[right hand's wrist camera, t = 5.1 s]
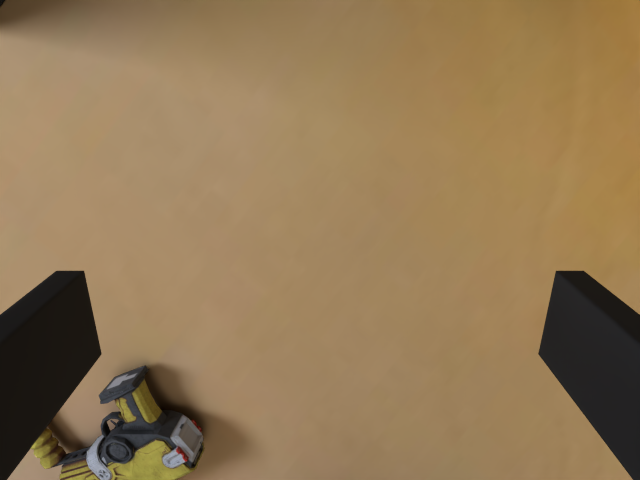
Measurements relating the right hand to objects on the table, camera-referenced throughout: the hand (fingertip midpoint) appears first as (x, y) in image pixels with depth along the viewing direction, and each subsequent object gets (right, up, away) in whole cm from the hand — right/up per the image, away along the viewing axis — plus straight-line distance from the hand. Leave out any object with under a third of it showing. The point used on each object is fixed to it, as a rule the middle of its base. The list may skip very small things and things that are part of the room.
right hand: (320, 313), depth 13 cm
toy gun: (-26, -20, +38) cm, 50 cm away
